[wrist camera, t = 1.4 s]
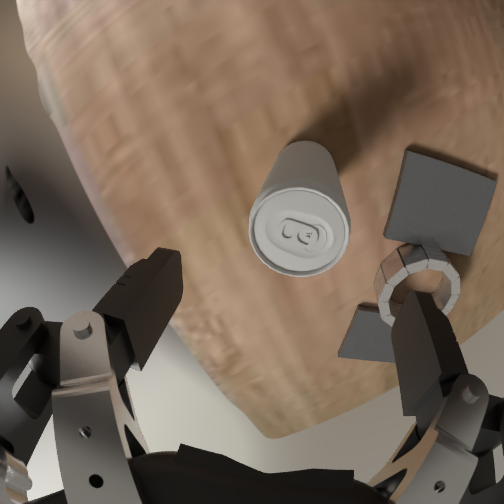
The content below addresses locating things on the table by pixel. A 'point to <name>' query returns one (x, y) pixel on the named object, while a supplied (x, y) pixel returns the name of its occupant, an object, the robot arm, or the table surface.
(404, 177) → the hinge model
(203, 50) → the table surface
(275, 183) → the beverage can
